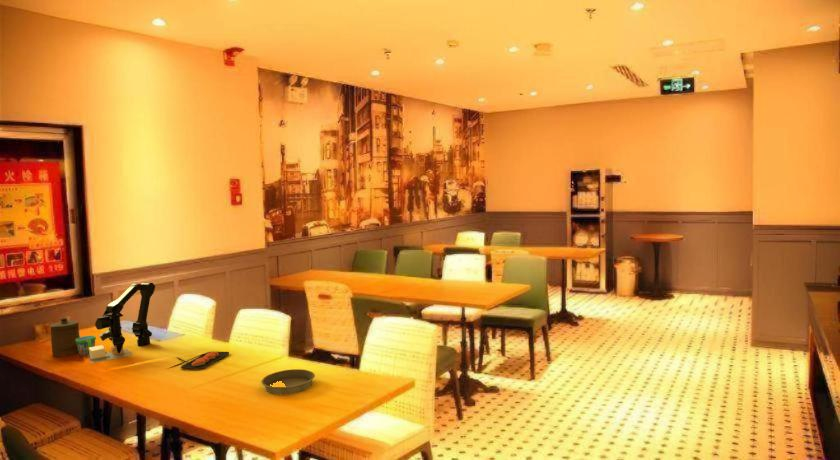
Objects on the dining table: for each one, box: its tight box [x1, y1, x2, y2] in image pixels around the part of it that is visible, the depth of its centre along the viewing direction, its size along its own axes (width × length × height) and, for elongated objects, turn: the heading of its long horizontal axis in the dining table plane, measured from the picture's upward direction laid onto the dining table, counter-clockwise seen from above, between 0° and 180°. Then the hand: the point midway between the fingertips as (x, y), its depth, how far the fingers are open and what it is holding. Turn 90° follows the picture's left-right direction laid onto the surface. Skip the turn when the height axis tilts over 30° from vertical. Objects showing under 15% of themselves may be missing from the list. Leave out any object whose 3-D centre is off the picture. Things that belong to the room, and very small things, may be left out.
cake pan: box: [260, 368, 316, 396], centre depth 274 cm, size 25×25×4 cm
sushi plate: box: [167, 351, 230, 370], centre depth 321 cm, size 29×30×4 cm
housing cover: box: [88, 344, 106, 359], centre depth 335 cm, size 7×10×5 cm
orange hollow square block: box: [110, 345, 124, 355], centre depth 341 cm, size 5×5×4 cm
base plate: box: [86, 348, 133, 364], centre depth 336 cm, size 21×18×3 cm
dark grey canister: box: [49, 316, 81, 357], centre depth 350 cm, size 15×15×22 cm
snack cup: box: [75, 335, 97, 357], centre depth 344 cm, size 16×10×10 cm
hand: (117, 351), depth 341 cm, fingers open, 9 cm apart
